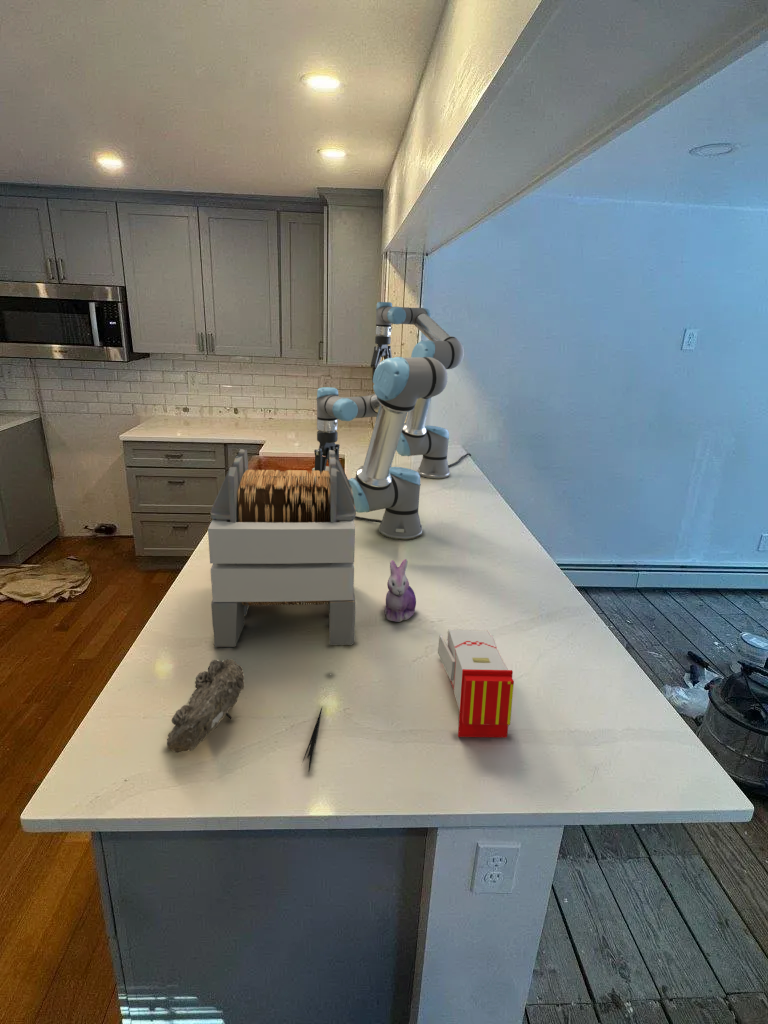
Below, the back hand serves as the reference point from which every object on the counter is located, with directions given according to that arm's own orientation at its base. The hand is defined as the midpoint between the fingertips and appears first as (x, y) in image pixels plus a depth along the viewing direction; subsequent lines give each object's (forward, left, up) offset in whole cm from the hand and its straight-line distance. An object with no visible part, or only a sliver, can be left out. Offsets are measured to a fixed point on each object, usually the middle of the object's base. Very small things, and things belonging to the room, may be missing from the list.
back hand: (381, 380), depth 282 cm
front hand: (+66, +54, -32) cm, 90 cm away
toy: (+99, +162, -41) cm, 194 cm away
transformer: (+114, +112, -41) cm, 165 cm away
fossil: (+146, +139, -41) cm, 205 cm away
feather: (+129, +151, -41) cm, 203 cm away
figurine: (+91, +129, -41) cm, 163 cm away
